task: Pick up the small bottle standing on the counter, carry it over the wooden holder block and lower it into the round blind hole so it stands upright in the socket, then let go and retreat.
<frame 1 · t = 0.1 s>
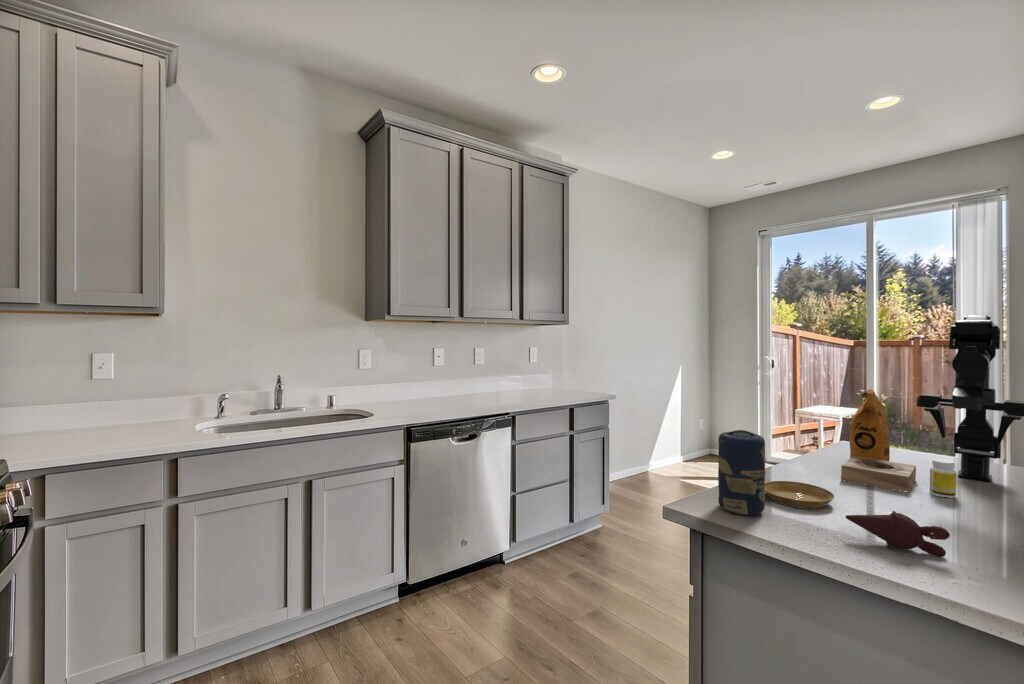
hand: (970, 441, 112), 14 cm above the counter, tool pointing down, fingers open, 9 cm apart
coffee package: (868, 464, 145), on the counter
canister: (740, 510, 108), on the counter
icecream: (894, 548, 89), on the counter
supplement bottle: (942, 495, 117), on the counter
plant saucer: (796, 501, 114), on the counter
wooden holder block: (878, 480, 129), on the counter
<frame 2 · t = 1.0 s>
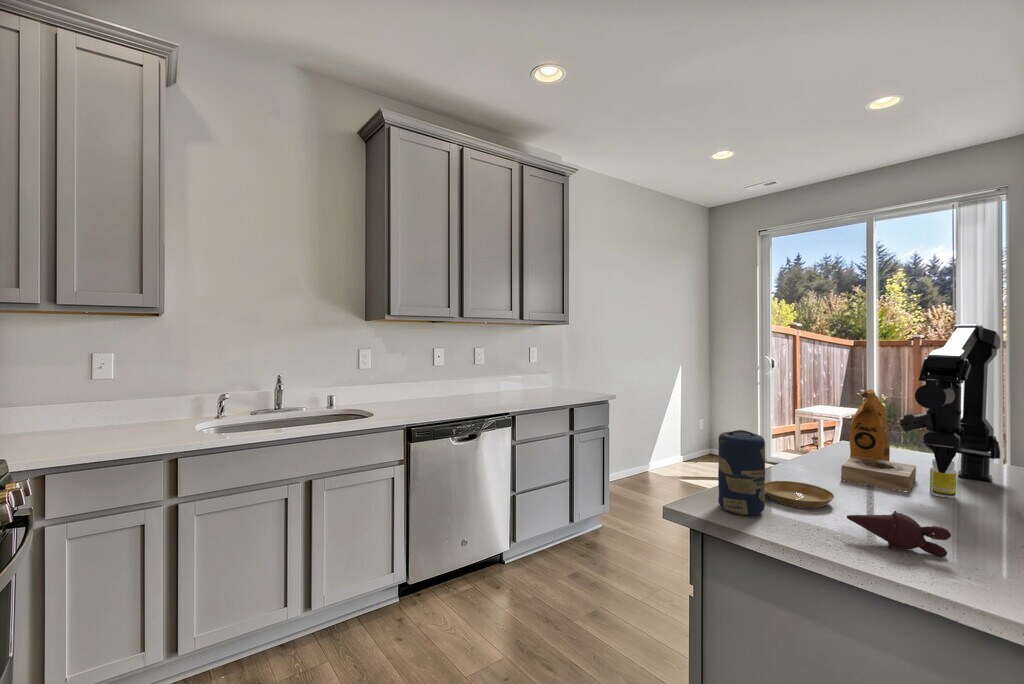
hand: (943, 468, 117), 6 cm above the counter, tool pointing down, fingers open, 9 cm apart
nothing on the counter moved.
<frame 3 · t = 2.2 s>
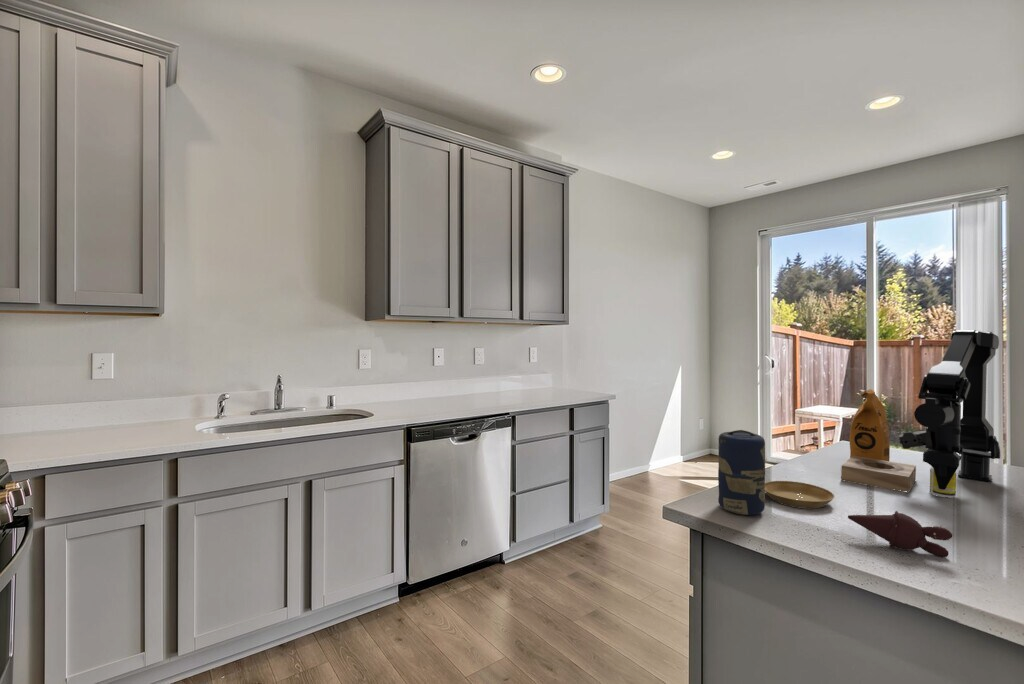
hand: (942, 486, 117), 2 cm above the counter, tool pointing down, fingers closed on supplement bottle, 5 cm apart
supplement bottle: (942, 495, 117), on the counter, touching gripper
everything else where it was.
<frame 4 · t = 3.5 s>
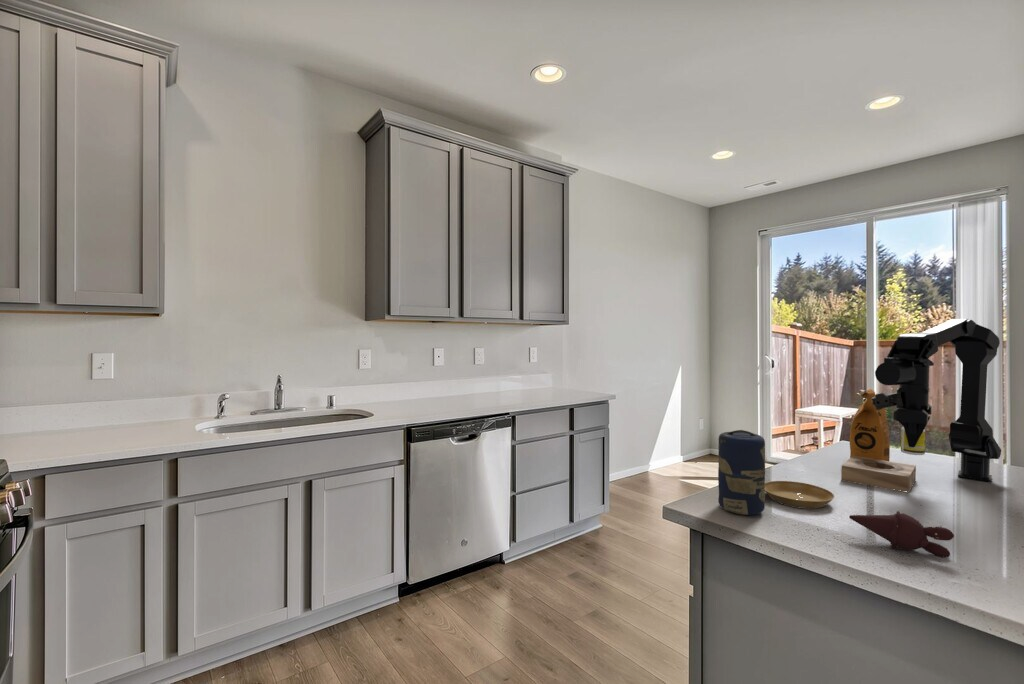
hand: (912, 445, 122), 11 cm above the counter, tool pointing down, fingers closed on supplement bottle, 5 cm apart
supplement bottle: (912, 454, 122), point 9 cm above the counter, touching gripper
everything else where it was.
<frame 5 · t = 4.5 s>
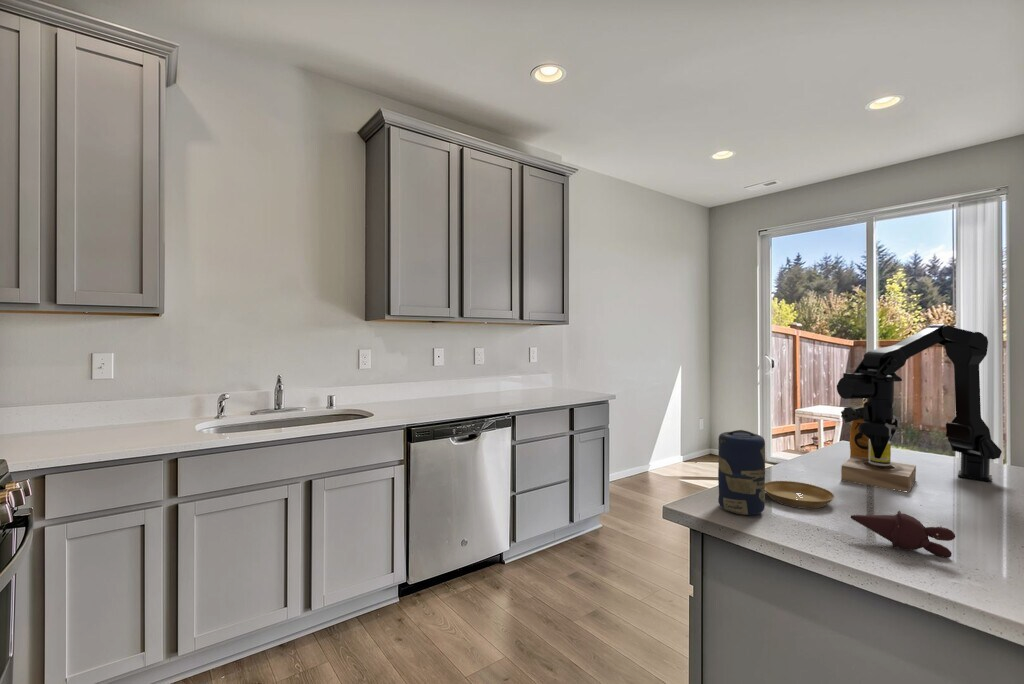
hand: (879, 456, 129), 6 cm above the counter, tool pointing down, fingers closed on supplement bottle, 5 cm apart
supplement bottle: (879, 464, 129), point 4 cm above the counter, touching gripper
everything else where it was.
when the fingers open (4 cm above the counter, at t = 5.2 s): supplement bottle drops 2 cm, resting on wooden holder block.
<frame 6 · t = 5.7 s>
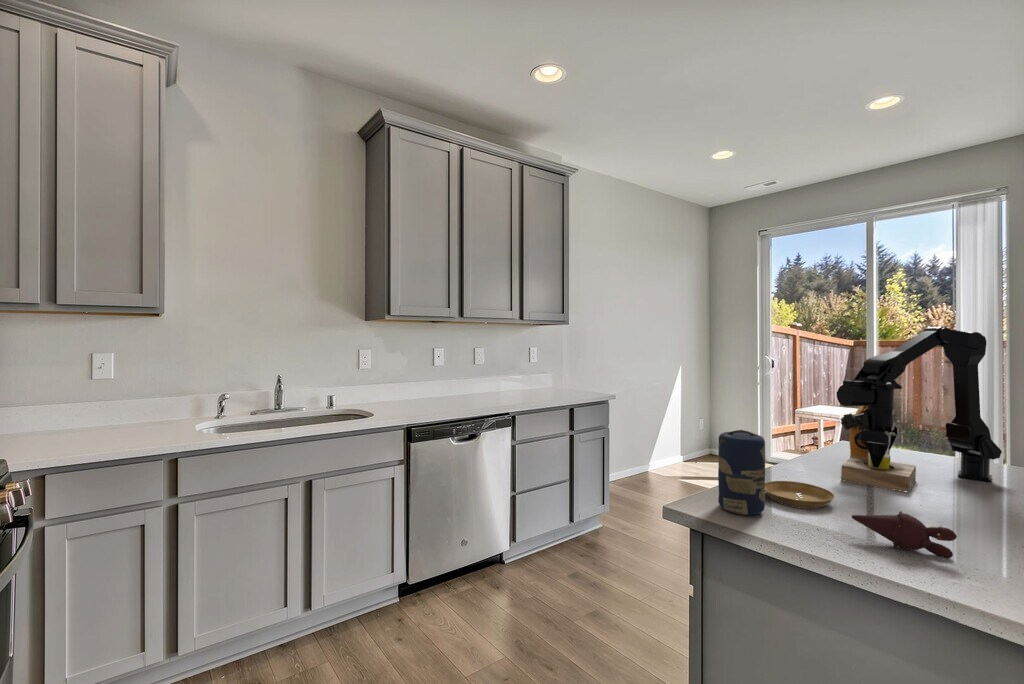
hand: (878, 463, 129), 4 cm above the counter, tool pointing down, fingers open, 9 cm apart
supplement bottle: (878, 477, 129), point 1 cm above the counter, touching wooden holder block
everything else where it was.
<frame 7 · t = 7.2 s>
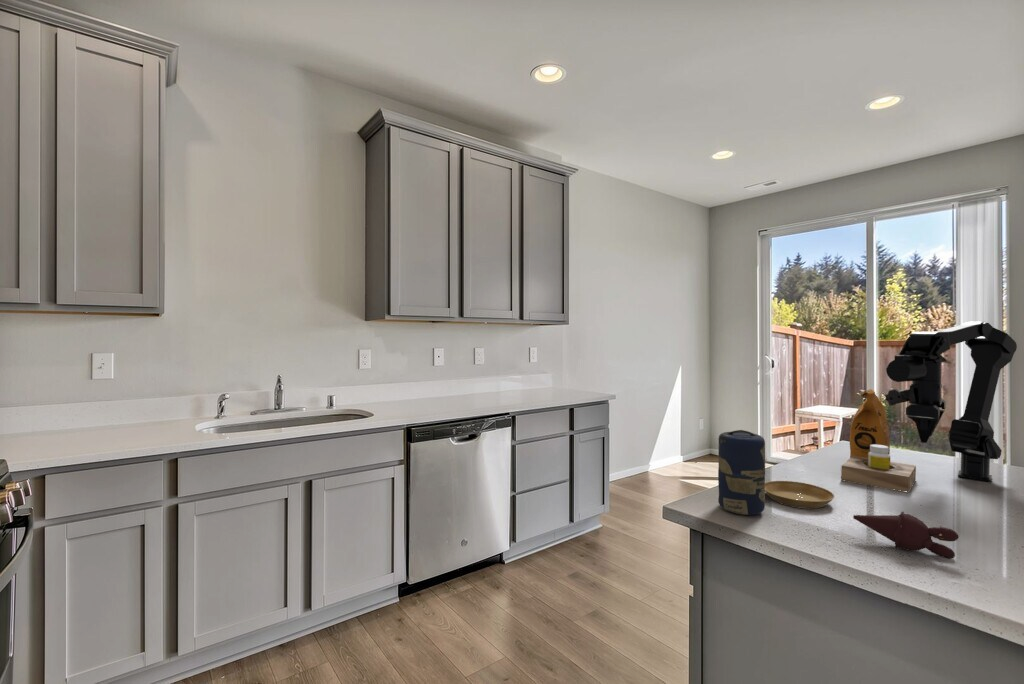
hand: (926, 439, 126), 12 cm above the counter, tool pointing down, fingers open, 9 cm apart
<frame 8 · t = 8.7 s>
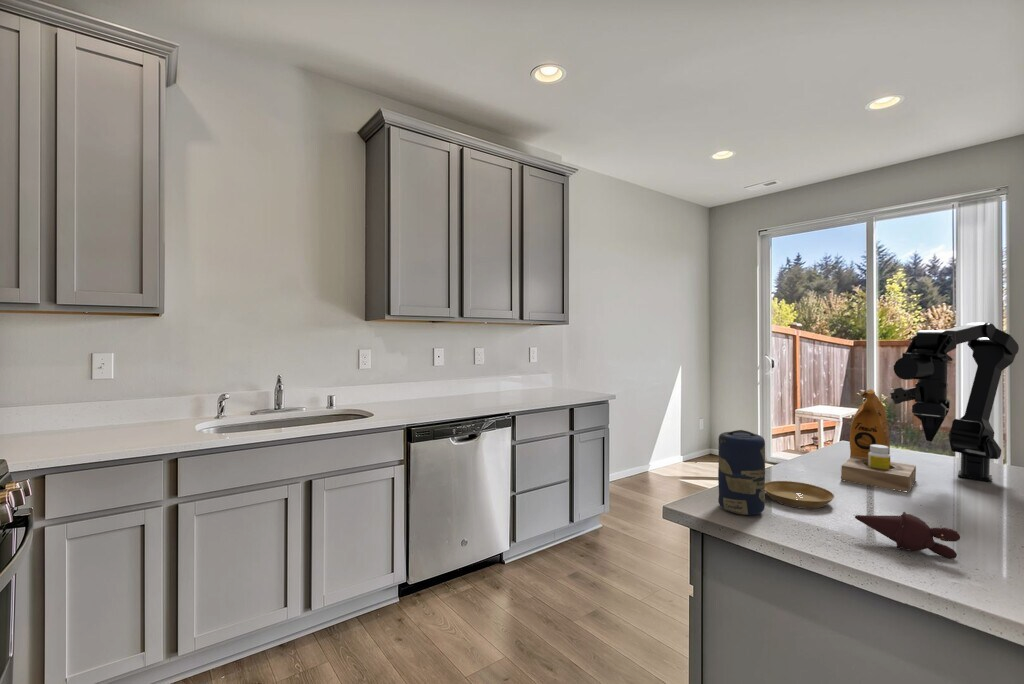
hand: (931, 438, 126), 12 cm above the counter, tool pointing down, fingers open, 9 cm apart
at the end: supplement bottle 0.1 cm off-centre on the wooden holder block, point 0.6 cm above the wooden holder block's base; supplement bottle tilted 0°; the gripper is holding nothing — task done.
